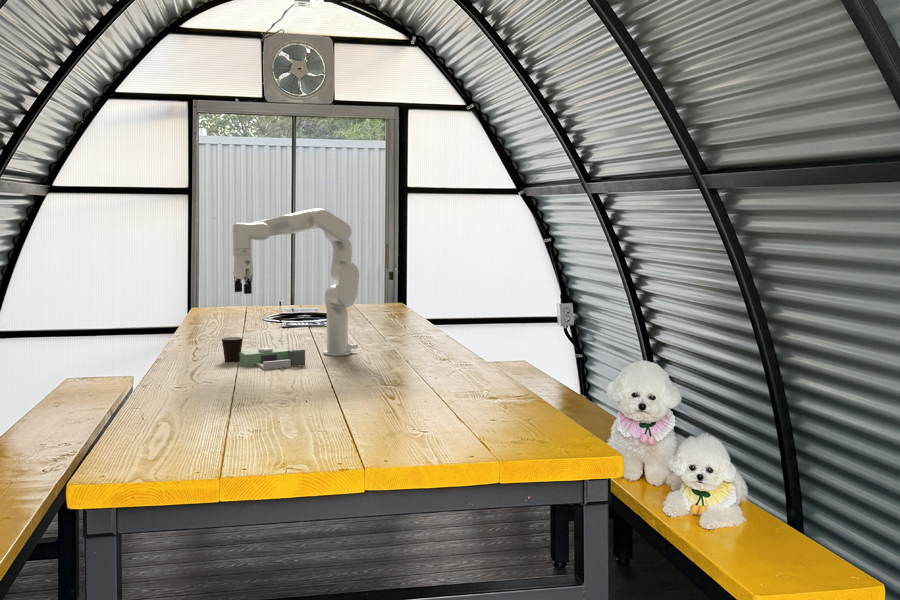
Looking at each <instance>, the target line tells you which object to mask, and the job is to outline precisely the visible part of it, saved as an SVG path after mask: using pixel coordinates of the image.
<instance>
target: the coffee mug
mask: <svg viewBox="0 0 900 600" xmlns="http://www.w3.org/2000/svg"><path fill="white" fill-rule="evenodd" d="M221 343H222V352H223V359H224V363H229V362H233V363H239V362H240V352H242V347H243V346H242V345H243V337H241V336H227V337H222V338H221ZM238 361H239V362H238Z"/></svg>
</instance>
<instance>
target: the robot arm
mask: <svg viewBox="0 0 900 600" xmlns="http://www.w3.org/2000/svg"><path fill="white" fill-rule="evenodd" d="M314 229H321V230H322V231H323V234H324V236H325V238H327V240H328V241H330V244H331V246H332V259H331V260H332V261H331V266H330V267H331V268H330V277H331V279H332V280H333V281H335V282H337V283H338V284H331V285H330V286H328V287H327V288H326V290H325V293H324V302H325V309H326V349H325V350H323V354H324V355H325V356H334V357H337V356H338V357H339V356H348V355H351V354H352V349H358V347H359V345H358V344H351V343H349V329H348V327H349V323H348V321H349V317H348V316H349V315H348V312H349V311H348V309H347V308H350V307H351V306H353V305H354V304H355V302H356V300H357V295H358V288H359V283H360V271H359V268H358V266H357V265H356V264H355V263H353V262H352V258H353V256H352V254H353V247H352V243H351V240H350V238H351V236H352V231H353V230H352V228H351V226H350V224H349V223H347V222H346V221H345V220H343V219H341V218H339V217H338V216H337V215H335V214H333V213H332V212H330V211H328V210H326V209H324V208H311V209H307V210H302V211H297V212H293V213H289V214H284V215H280V216H277V217H272V218H267V219H263V220H257V221H254V222H250V223H247V222H235V223H234V224H233V225H232V250H233V251H232V255H233V257H234V258H233V272H232V273H233V279H234V280H233V282H234V287H233V288H234V293H242V292H243V294H244V295H247V294H248V295H249V294H252V292H253V291H252V290H253V289H252V288H253V287H252V284H253V282H252V281H253V279H254V267H253V258H252V253H253V251H252V248H253V247H252V241H266V240H268V239H269V238H270V237H272V236H279V235H292V234H297V233H301V232H306V231H309V230H314ZM242 281H243V282H242ZM243 283H244V284H243Z"/></svg>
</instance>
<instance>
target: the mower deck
mask: <svg viewBox="0 0 900 600" xmlns="http://www.w3.org/2000/svg"><path fill="white" fill-rule="evenodd" d="M288 350H289V349H287V348H285V347H282V348H272V347H261V348H258V349H257V350H246V351H241V352H240V361H239V364H240V363H241V364H240V365H242V364H243V365H242V366H244V365H245V367H252V366H251V365H257V366H256V367H258V366H259V367H258V368H260V367H261V368H260V369H262V368H263V369H262V370H270V369H269V368H275V369H283V368H282V367H285V368H291V366H292V365H291V364H290V359H289V360H288Z"/></svg>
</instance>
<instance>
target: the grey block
mask: <svg viewBox="0 0 900 600" xmlns="http://www.w3.org/2000/svg"><path fill="white" fill-rule="evenodd" d="M289 359H290V364H291V366H292V365H293V367H299V366H298V365H304V366H306V349H305V348H295V349H288V360H289Z"/></svg>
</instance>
